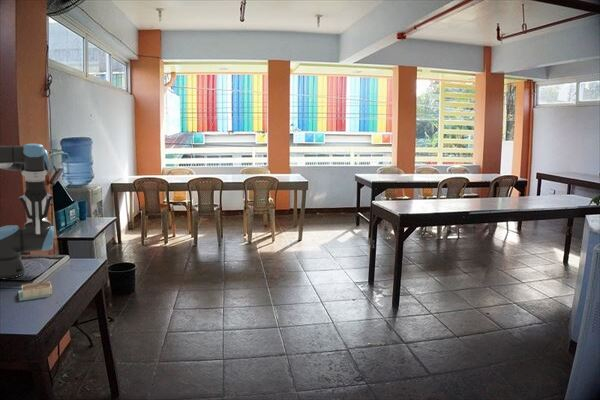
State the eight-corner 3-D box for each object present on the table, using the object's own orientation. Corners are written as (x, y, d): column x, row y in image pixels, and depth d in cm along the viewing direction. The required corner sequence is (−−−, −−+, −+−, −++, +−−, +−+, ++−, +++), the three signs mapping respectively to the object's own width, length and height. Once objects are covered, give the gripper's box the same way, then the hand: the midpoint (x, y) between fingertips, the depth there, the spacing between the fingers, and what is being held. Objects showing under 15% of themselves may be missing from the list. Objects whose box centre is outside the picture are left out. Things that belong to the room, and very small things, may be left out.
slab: (50, 287, 212) (22, 291, 206) (50, 280, 212) (21, 284, 206) (52, 293, 206) (22, 298, 200) (51, 286, 205) (22, 290, 199)
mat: (18, 291, 207) (18, 290, 207) (47, 287, 213) (47, 286, 213) (19, 300, 198) (19, 299, 198) (50, 296, 204) (50, 295, 204)
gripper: (18, 182, 195) (21, 237, 200) (53, 181, 202) (55, 234, 207) (16, 179, 201) (20, 232, 206) (51, 178, 208) (53, 229, 213)
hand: (38, 233), depth 207 cm, fingers closed
